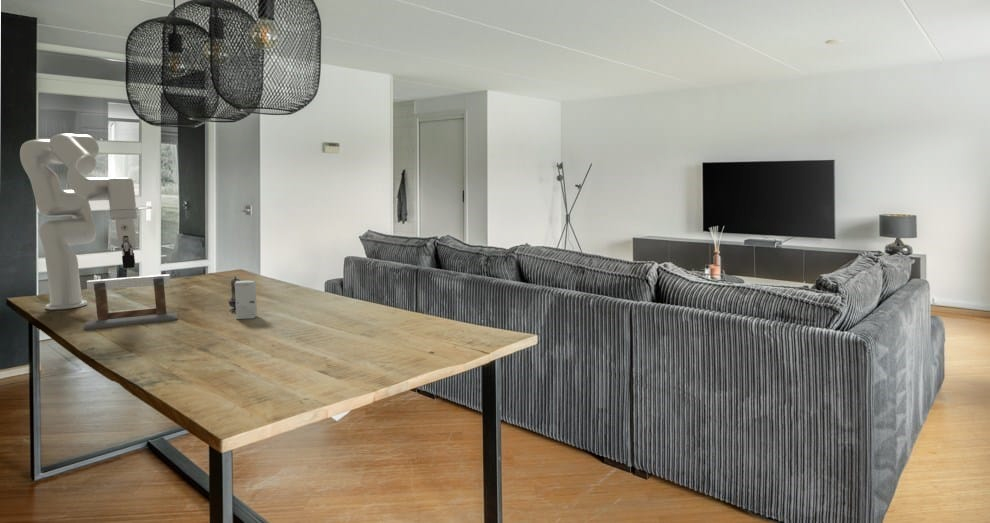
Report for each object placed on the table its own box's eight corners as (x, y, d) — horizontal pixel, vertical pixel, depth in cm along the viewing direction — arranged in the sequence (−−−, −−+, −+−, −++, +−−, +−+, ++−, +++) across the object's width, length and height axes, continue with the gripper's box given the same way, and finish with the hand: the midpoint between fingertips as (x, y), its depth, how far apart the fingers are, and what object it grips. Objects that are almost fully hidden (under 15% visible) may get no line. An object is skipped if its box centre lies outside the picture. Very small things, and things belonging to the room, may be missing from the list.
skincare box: (235, 319, 204) (233, 283, 202) (238, 316, 208) (235, 280, 206) (255, 318, 205) (253, 281, 203) (257, 315, 209) (255, 279, 208)
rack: (97, 321, 204) (93, 283, 202) (98, 317, 209) (95, 280, 207) (166, 313, 213) (163, 277, 212) (166, 310, 218) (163, 275, 217)
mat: (83, 330, 192) (83, 328, 192) (86, 323, 201) (86, 321, 201) (177, 319, 204) (177, 317, 204) (176, 314, 213) (176, 312, 213)
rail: (87, 290, 203) (86, 281, 202) (88, 289, 205) (87, 280, 205) (170, 283, 214) (169, 275, 214) (170, 282, 217) (169, 274, 216)
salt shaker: (242, 311, 215) (240, 277, 214) (225, 311, 215) (223, 277, 214) (249, 308, 221) (247, 274, 219) (232, 308, 221) (230, 274, 220)
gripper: (136, 215, 201) (141, 268, 203) (137, 213, 216) (142, 262, 218) (109, 216, 197) (115, 270, 199) (111, 214, 212) (117, 264, 214)
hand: (129, 266), depth 209 cm, fingers open, 9 cm apart
